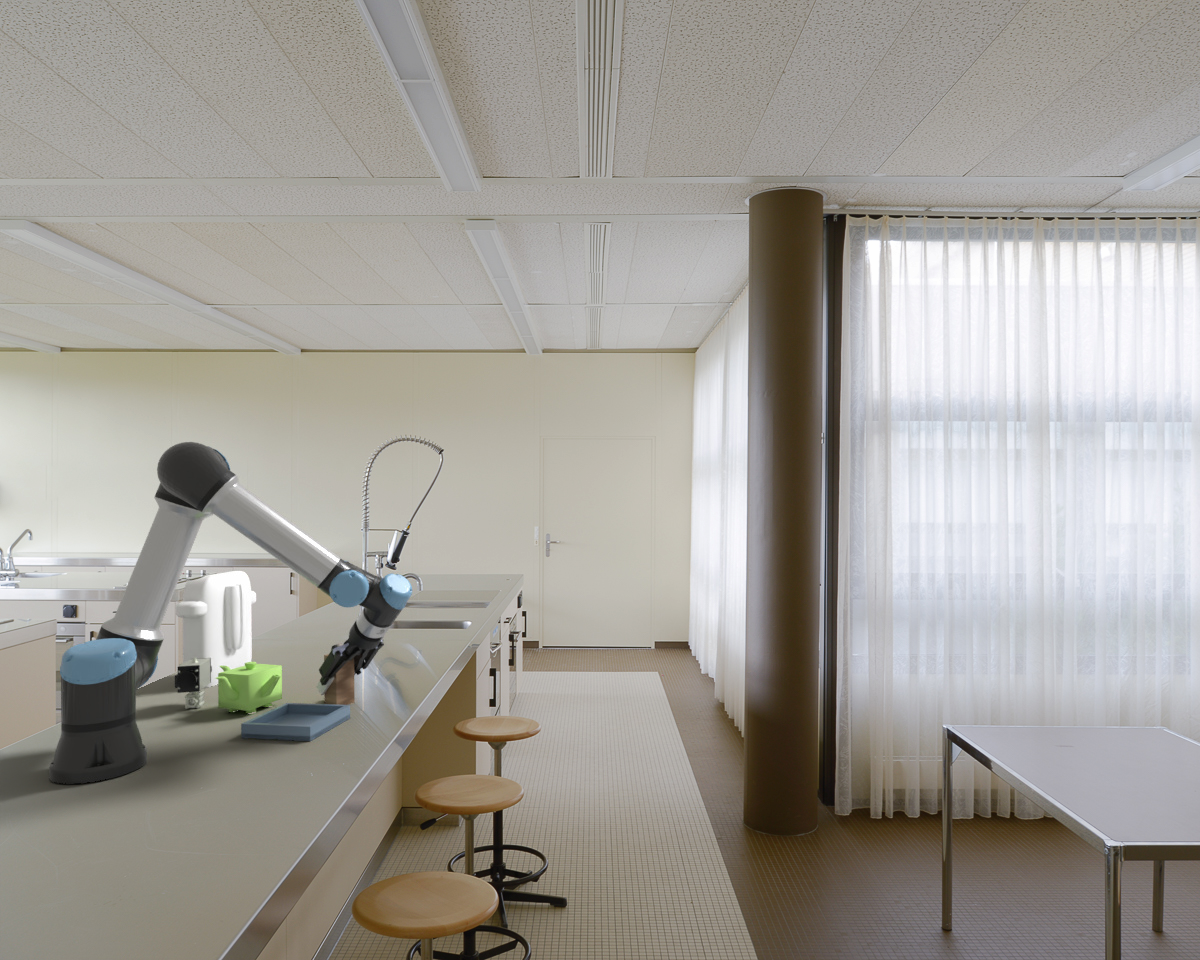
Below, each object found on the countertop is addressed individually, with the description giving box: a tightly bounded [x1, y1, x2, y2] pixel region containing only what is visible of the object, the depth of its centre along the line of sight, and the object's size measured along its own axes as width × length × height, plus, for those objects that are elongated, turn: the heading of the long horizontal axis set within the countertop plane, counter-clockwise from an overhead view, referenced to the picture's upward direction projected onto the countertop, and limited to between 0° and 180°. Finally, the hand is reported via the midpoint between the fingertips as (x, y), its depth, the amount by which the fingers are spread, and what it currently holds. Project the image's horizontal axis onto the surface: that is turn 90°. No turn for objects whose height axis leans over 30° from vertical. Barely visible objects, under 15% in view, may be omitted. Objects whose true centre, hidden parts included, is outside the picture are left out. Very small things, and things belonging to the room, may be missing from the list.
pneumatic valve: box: [174, 657, 212, 710], centre depth 180 cm, size 6×12×12 cm, turn 11°
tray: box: [240, 702, 351, 742], centre depth 162 cm, size 16×16×3 cm
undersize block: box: [323, 643, 356, 705], centre depth 181 cm, size 5×5×14 cm
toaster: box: [175, 570, 257, 689], centre depth 208 cm, size 27×11×30 cm, turn 171°
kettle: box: [216, 661, 283, 714], centre depth 177 cm, size 15×14×11 cm
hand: (330, 687), depth 183 cm, fingers closed on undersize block, 5 cm apart
